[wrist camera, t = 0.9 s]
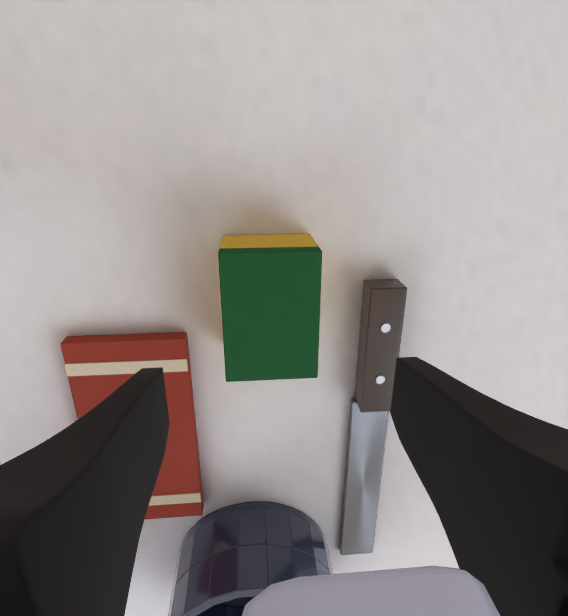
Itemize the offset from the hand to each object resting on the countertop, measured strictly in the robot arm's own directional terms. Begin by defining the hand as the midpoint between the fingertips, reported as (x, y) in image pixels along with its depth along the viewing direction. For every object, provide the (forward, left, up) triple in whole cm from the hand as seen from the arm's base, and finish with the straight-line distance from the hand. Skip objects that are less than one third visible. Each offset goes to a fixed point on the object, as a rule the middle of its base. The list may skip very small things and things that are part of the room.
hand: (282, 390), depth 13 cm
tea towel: (-7, -8, -9) cm, 14 cm away
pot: (-1, -19, -9) cm, 21 cm away
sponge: (0, 0, -9) cm, 9 cm away
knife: (+6, -10, -9) cm, 15 cm away
